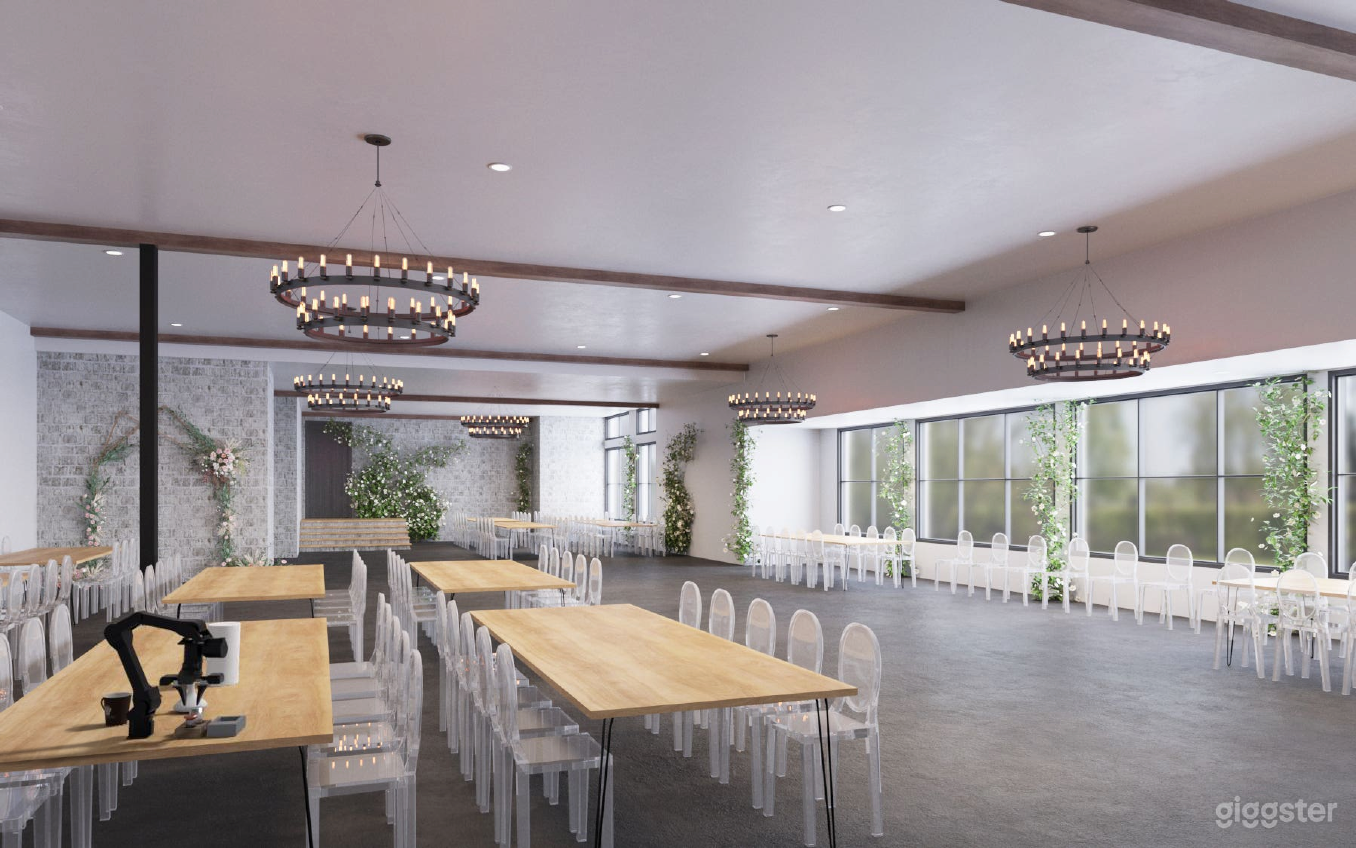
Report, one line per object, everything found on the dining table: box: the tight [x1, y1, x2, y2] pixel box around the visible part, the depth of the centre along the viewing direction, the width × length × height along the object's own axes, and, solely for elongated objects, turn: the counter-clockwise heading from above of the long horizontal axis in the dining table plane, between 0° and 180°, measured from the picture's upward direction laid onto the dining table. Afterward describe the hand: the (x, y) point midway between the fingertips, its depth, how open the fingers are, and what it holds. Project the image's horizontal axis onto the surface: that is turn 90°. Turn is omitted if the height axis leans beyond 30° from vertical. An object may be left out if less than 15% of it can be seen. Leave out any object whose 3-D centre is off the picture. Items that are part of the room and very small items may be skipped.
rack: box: [206, 714, 247, 738], centre depth 313 cm, size 9×12×4 cm
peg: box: [188, 706, 204, 725], centre depth 314 cm, size 4×4×8 cm
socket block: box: [173, 719, 213, 740], centre depth 311 cm, size 8×12×3 cm, turn 11°
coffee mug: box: [100, 691, 133, 727], centre depth 324 cm, size 12×9×10 cm
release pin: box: [183, 714, 197, 728], centre depth 308 cm, size 4×4×4 cm
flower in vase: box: [172, 656, 209, 713], centre depth 344 cm, size 13×11×25 cm
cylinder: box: [205, 621, 242, 688], centre depth 392 cm, size 12×12×25 cm
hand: (191, 705), depth 309 cm, fingers open, 4 cm apart
